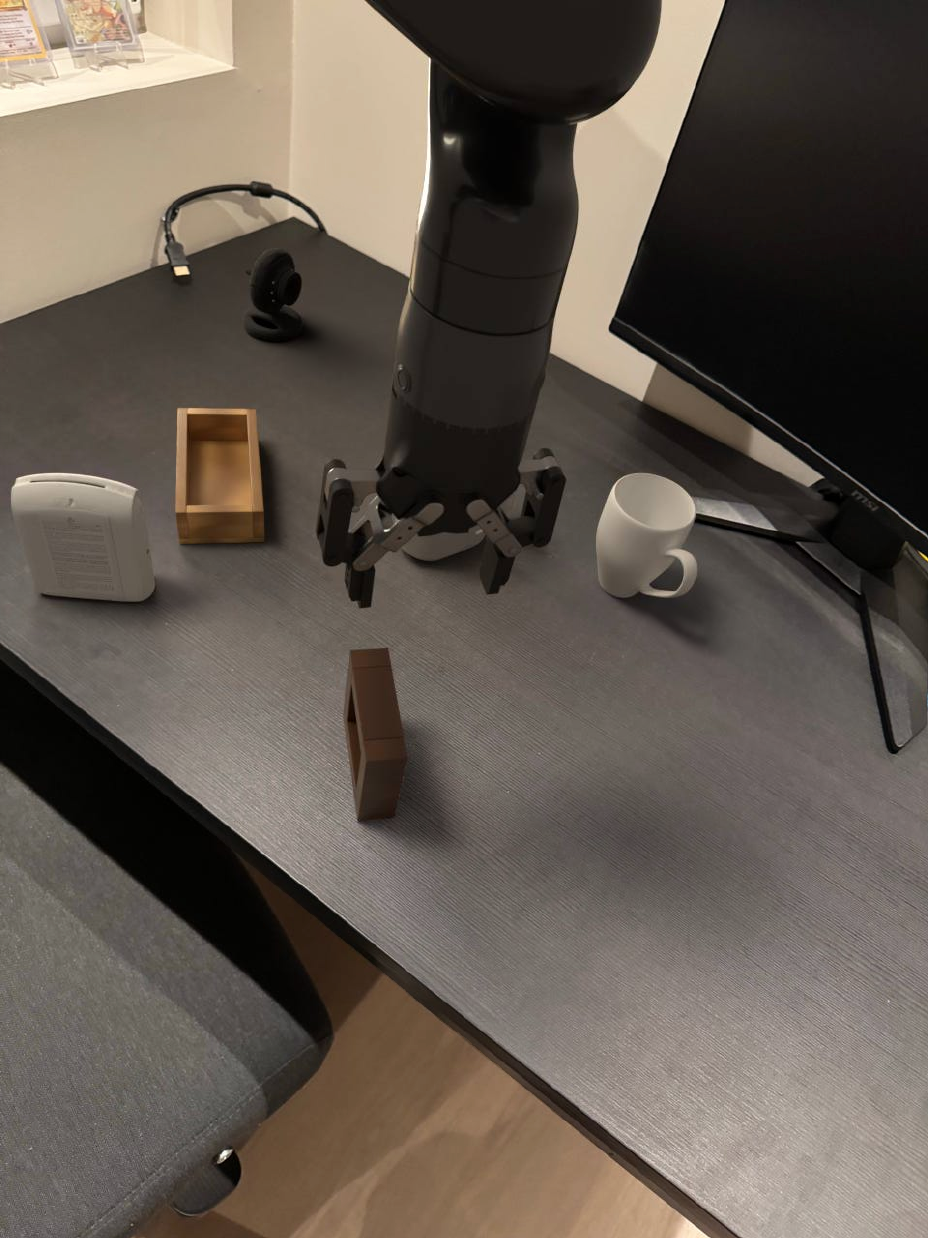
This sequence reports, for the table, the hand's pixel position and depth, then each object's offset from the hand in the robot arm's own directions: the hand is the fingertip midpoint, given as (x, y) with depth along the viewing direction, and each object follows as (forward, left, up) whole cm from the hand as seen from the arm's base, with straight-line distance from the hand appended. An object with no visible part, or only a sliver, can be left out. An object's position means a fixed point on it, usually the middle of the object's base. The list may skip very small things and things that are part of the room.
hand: (425, 591), depth 55 cm
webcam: (-6, +64, -20) cm, 68 cm away
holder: (-13, +33, -20) cm, 41 cm away
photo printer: (-24, +20, -20) cm, 38 cm away
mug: (+27, +16, -20) cm, 37 cm away
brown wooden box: (-2, -1, -20) cm, 20 cm away
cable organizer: (+10, +25, -20) cm, 34 cm away
